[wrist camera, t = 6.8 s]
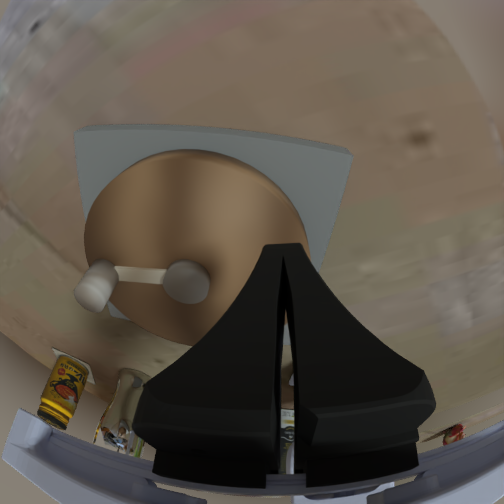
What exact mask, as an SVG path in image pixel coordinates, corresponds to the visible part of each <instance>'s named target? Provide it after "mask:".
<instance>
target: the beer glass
mask: <svg viewBox="0 0 504 504" xmlns="http://www.w3.org/2000/svg"><path fill="white" fill-rule="evenodd" d="M150 379H152V378H151V377H149V376H148V375H146V374H144V373H142V372H140V371H137V370H133V369H121V370H120V371H119V374H118V381H117V386H116V390H115V393H114V395H113V397H112V399H111V401H110V403H109V404H108V406H107V408H106V410H105V411H104V413H103V415H102V417H101V419H100V421H99V423H98V425H97V428H96V431H95V434H94V438H93V442H92V444H94V445H97V446H100V447H103V448H106V449H109V450H112V451H116V452H119V453H123V454H126V455H130V456H133V457H137V458H142V454H143V450H144V445H145V441H144V440H142V439H141V438H139V437H138V436H137V435H136V434H135V433H134V431H133V430H132V427H131V426H132V422H133V418H134V415H135V411H136V408H137V404H138V401H139V398H140V396H141V393H142V391H143V389H144V387H145V385H146V382H147V381H149V380H150Z"/></svg>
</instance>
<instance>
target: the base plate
mask: <svg viewBox="0 0 504 504" xmlns="http://www.w3.org/2000/svg"><path fill="white" fill-rule="evenodd" d="M74 143H75V154H76V163H77V172H78V179H79V186H80V193H81V199H82V205H83V210H84V216H85V221H86V220H87V216H88V213H89V211H90V209H91V206H92V204H93V202H94V201H95V199H96V198H97V196H98V195H99V193H100V192H101V191H102V190H103V189H104V188H105V187H106V186H107V185H108V184H109V183H110V182H111V181H112V180H113V179H114V178H115V177H117V176H118V175H119V174H120V173H121V172H123V171H124V170H125V169H127V168H128V167H130V166H131V165H132V164H134V163H135V162H137V161H139V160H141V159H143V158H146V157H148V156H150V155H153V154H157V153H160V152H164V151H170V150H178V149H200V150H206V151H212V152H218V153H221V154H224V155H227V156H230V157H234V158H236V159H238V160H240V161H242V162H245V163H247V164H249V165H251V166H252V167H254V168H255V169H257V170H259V171H260V172H262V173H263V174H265V175H266V176H267V177H268V178H270V179H271V180H272V181H273V182H274V183H275V184H277V185H278V186H279V187H280V188H281V190H282V191H283V192H284V193H285V194H286V195H287V196H288V198H289V199H290V200H291V202H292V203H293V205H294V207H295V208H296V210H297V211H298V213H299V215H300V218H301V220H302V222H303V224H304V228H305V231H306V235H307V239H308V245H309V250H310V256H311V263H312V264H313V266H314V267H315V269H316V271H317V272H318V273H319V270H320V267H321V264H322V261H323V258H324V255H325V252H326V249H327V246H328V243H329V240H330V237H331V233H332V230H333V227H334V224H335V220H336V217H337V214H338V210H339V207H340V203H341V200H342V196H343V193H344V189H345V186H346V182H347V178H348V175H349V171H350V167H351V163H352V160H353V155H352V154H351V152H350V151H349V150H348V149H347V148H344V147H339V146H335V145H330V144H325V143H320V142H315V141H310V140H305V139H299V138H293V137H287V136H281V135H275V134H268V133H260V132H253V131H245V130H236V129H226V128H215V127H202V126H186V125H159V124H121V125H95V126H86V127H83V128H81V129H79V130H77V131H75V132H74ZM107 305H108V308H109V311H110V314H111V316H113V317H117V318H121V319H125V320H130V319H128V318H127V317H126V316H125V315H123V314H122V313H121V312H120V311H119V310H118V309H117V308H116V307H115V306H114V305H113V304H112V303H111V302H110V301H109V300H108V301H107ZM130 321H131V320H130ZM283 344H285V345H290V337H289V330H288V323H287V324H286V325H285V326H284V339H283Z"/></svg>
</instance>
